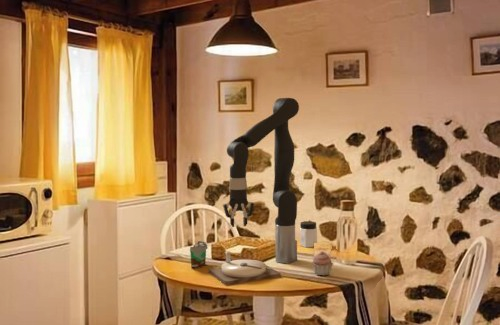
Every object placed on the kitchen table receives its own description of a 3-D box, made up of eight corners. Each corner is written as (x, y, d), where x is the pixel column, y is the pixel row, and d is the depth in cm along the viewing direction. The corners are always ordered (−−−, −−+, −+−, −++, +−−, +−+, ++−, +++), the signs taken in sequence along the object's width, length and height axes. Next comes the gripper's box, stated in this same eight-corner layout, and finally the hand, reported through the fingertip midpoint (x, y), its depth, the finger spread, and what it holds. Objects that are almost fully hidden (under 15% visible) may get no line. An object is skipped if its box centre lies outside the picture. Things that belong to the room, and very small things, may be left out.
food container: (203, 269, 242) (203, 247, 241) (190, 269, 243) (189, 247, 242) (211, 262, 254) (210, 241, 253) (198, 261, 255) (197, 240, 254)
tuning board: (260, 265, 248) (260, 261, 247) (280, 276, 229) (280, 272, 229) (208, 272, 237) (208, 268, 237) (225, 285, 219) (225, 281, 219)
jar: (296, 245, 284) (296, 222, 283) (308, 242, 289) (308, 220, 288) (308, 248, 277) (308, 225, 276) (320, 246, 282) (320, 223, 280)
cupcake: (307, 275, 231) (307, 252, 230) (317, 270, 239) (317, 247, 238) (327, 278, 226) (327, 255, 225) (337, 273, 233) (337, 250, 233)
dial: (254, 262, 246) (254, 247, 245) (273, 273, 228) (273, 257, 228) (215, 268, 238) (214, 252, 237) (231, 279, 221) (231, 263, 220)
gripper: (251, 185, 244) (252, 223, 245) (220, 187, 240) (221, 225, 242) (256, 188, 236) (256, 227, 238) (223, 189, 233) (224, 229, 235)
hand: (238, 226), depth 240 cm, fingers open, 4 cm apart
